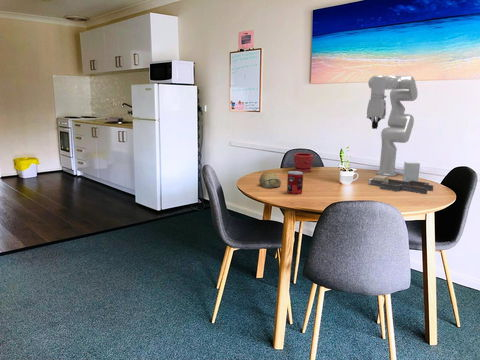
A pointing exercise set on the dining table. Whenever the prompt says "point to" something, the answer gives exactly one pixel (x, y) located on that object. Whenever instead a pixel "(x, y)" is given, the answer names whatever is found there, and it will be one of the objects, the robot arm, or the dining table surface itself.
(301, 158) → the plant pot
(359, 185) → the dining table surface
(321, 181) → the dining table surface
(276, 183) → the pastry
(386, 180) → the birch block
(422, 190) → the trap channel
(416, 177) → the supplement box
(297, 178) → the canned food
